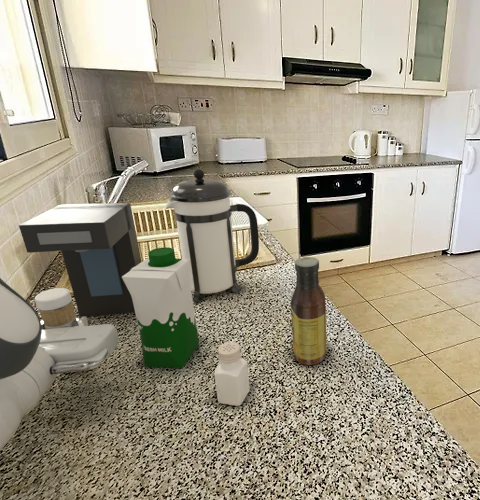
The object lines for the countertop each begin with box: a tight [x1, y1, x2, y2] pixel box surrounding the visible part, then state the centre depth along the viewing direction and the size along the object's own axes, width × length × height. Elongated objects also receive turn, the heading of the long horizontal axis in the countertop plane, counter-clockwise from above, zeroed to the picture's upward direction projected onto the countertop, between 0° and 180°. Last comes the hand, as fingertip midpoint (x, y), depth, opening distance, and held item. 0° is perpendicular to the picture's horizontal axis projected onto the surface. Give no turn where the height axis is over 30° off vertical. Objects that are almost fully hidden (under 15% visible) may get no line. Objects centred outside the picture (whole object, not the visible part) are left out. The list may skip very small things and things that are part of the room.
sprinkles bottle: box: [34, 287, 77, 329], centre depth 62 cm, size 5×5×13 cm
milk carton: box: [122, 246, 200, 369], centre depth 66 cm, size 9×9×20 cm
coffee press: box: [164, 168, 260, 304], centre depth 89 cm, size 17×16×30 cm
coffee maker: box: [18, 202, 143, 317], centre depth 75 cm, size 13×14×24 cm
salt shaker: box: [213, 341, 251, 407], centre depth 58 cm, size 4×4×10 cm
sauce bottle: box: [290, 256, 328, 366], centre depth 66 cm, size 6×6×20 cm
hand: (63, 321), depth 63 cm, fingers closed on sprinkles bottle, 4 cm apart
